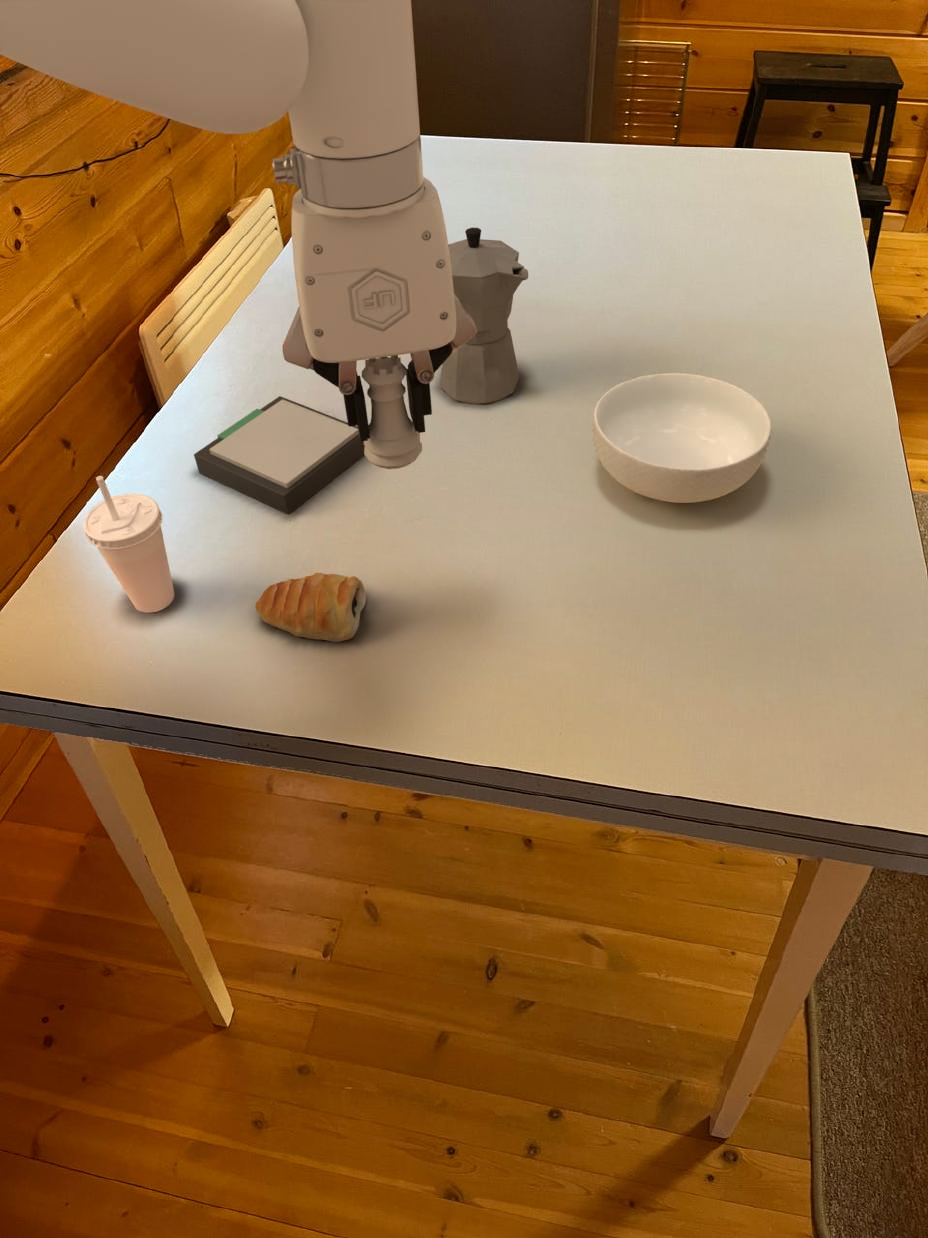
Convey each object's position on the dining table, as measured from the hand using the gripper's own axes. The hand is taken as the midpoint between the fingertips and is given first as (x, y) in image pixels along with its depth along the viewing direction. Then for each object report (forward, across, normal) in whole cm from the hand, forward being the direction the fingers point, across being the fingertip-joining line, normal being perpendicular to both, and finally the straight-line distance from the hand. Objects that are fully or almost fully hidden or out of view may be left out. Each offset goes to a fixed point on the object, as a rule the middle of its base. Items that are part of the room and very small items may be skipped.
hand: (390, 424), depth 69 cm
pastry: (+19, -8, 0) cm, 21 cm away
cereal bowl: (+19, +29, +12) cm, 36 cm away
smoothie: (+19, -23, +7) cm, 31 cm away
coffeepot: (+19, +13, +35) cm, 42 cm away
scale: (+19, -10, +25) cm, 33 cm away
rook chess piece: (+3, 0, 0) cm, 3 cm away
